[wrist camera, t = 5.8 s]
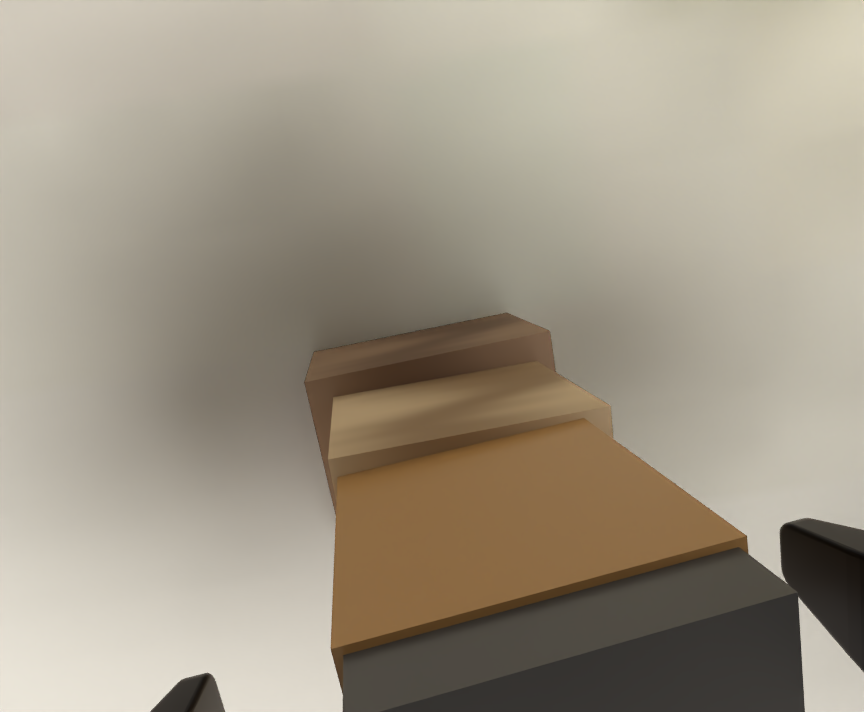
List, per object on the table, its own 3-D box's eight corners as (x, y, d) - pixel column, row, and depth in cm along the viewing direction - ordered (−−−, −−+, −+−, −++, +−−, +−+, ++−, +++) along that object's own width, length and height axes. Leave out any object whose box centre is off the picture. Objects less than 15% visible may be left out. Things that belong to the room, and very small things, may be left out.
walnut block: (505, 312, 18) (549, 330, 14) (532, 487, 19) (580, 549, 15) (313, 351, 17) (304, 382, 13) (355, 529, 18) (357, 605, 14)
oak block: (536, 360, 14) (610, 405, 10) (556, 544, 15) (630, 648, 11) (333, 397, 13) (327, 459, 9) (368, 584, 14) (376, 710, 11)
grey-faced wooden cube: (583, 417, 10) (806, 580, 5) (613, 631, 11) (827, 937, 6) (336, 477, 10) (328, 715, 5) (391, 694, 10) (428, 1079, 6)
